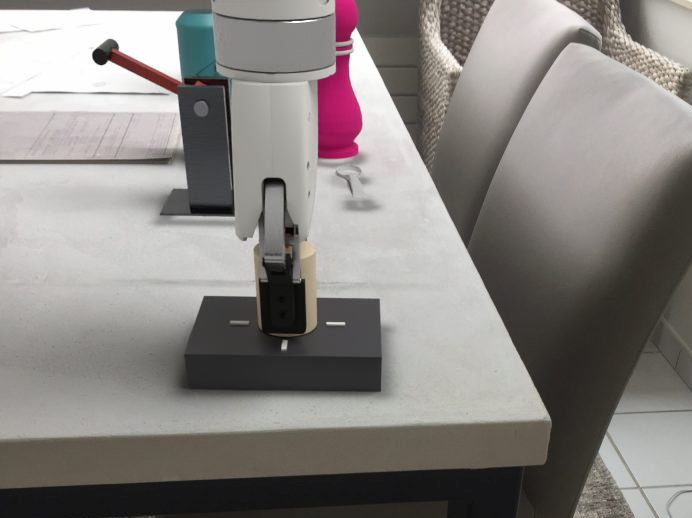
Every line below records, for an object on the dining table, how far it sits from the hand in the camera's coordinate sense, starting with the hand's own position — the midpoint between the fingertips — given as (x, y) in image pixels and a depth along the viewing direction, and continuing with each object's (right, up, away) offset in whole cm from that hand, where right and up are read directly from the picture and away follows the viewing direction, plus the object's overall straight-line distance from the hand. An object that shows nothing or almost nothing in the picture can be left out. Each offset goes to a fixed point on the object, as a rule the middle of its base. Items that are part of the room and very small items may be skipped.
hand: (287, 313), depth 67 cm
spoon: (+4, +21, +35) cm, 41 cm away
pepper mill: (+1, +29, +45) cm, 53 cm away
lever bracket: (-11, +17, +28) cm, 35 cm away
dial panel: (0, -3, +2) cm, 4 cm away
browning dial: (0, -1, 0) cm, 1 cm away
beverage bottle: (-13, +27, +41) cm, 51 cm away
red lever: (-15, +27, +21) cm, 37 cm away
